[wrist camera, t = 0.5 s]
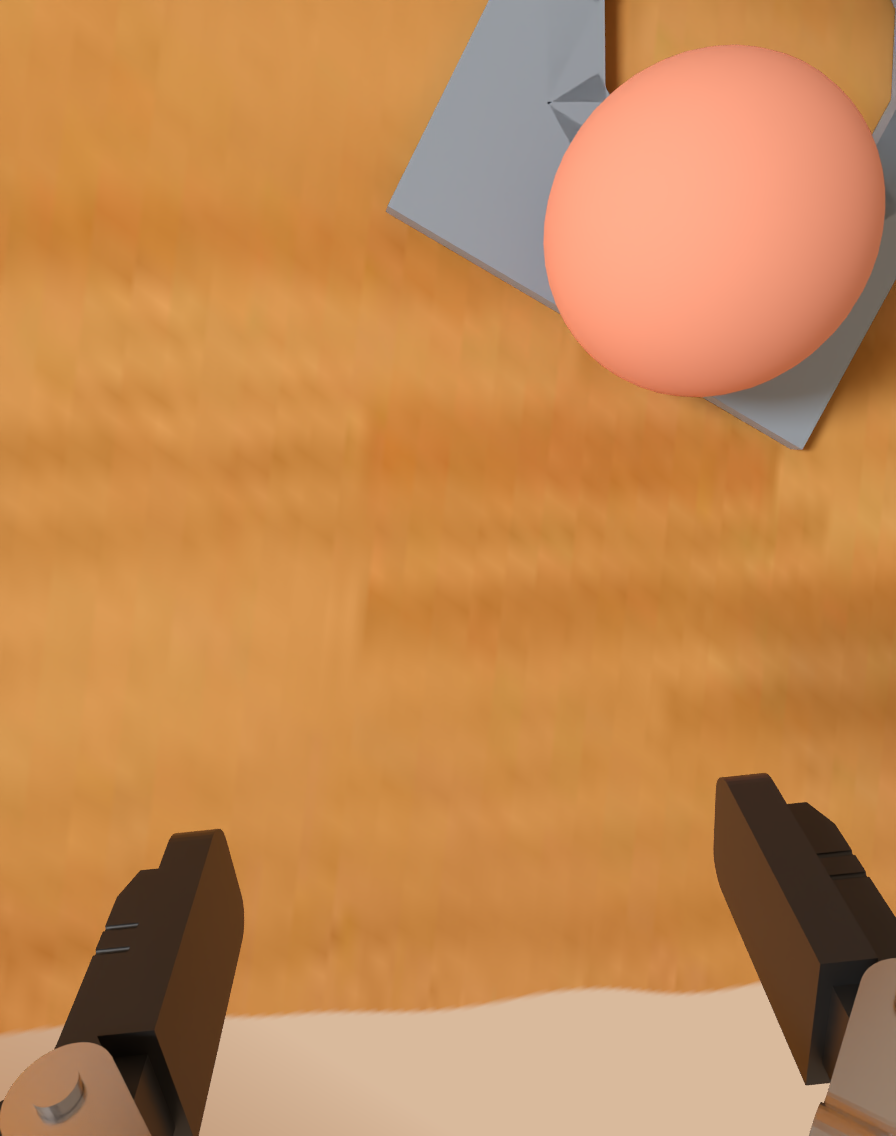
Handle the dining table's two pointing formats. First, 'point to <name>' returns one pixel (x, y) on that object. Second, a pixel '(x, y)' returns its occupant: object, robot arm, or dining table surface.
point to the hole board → (531, 159)
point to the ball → (714, 220)
